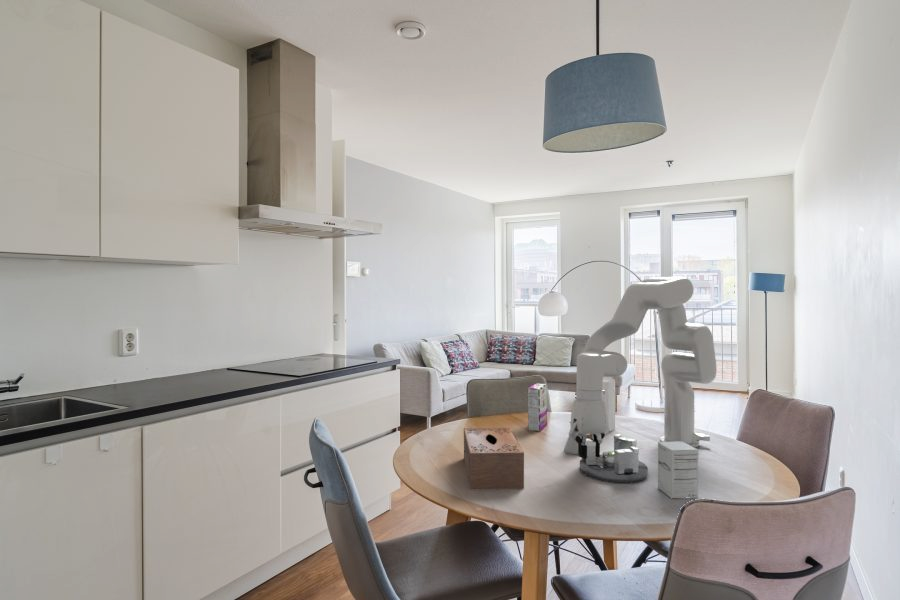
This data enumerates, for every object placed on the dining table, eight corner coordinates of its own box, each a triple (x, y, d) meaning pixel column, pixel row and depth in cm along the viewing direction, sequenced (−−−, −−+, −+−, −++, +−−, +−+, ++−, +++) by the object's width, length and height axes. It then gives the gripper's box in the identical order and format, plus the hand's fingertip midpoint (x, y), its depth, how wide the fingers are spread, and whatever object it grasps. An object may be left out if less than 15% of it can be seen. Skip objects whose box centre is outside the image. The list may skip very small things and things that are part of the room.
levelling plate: (645, 464, 155) (645, 446, 155) (650, 486, 137) (650, 466, 137) (581, 458, 161) (581, 441, 161) (577, 479, 143) (577, 459, 143)
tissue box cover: (463, 459, 161) (463, 427, 161) (509, 458, 162) (509, 427, 162) (470, 490, 136) (470, 453, 135) (524, 489, 136) (523, 452, 136)
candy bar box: (535, 423, 204) (535, 383, 204) (547, 424, 202) (547, 383, 202) (527, 430, 194) (527, 387, 194) (540, 431, 192) (539, 388, 192)
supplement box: (656, 488, 136) (656, 441, 136) (683, 487, 137) (683, 440, 136) (671, 499, 129) (671, 449, 128) (699, 498, 129) (699, 449, 129)
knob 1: (631, 462, 150) (631, 440, 150) (612, 457, 155) (612, 435, 155) (637, 459, 153) (637, 437, 152) (618, 454, 157) (618, 433, 157)
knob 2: (613, 470, 143) (613, 447, 143) (632, 468, 144) (632, 445, 144) (620, 474, 140) (620, 451, 140) (639, 473, 141) (639, 449, 141)
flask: (586, 455, 163) (586, 425, 163) (563, 454, 165) (563, 423, 165) (585, 449, 171) (585, 419, 170) (563, 448, 172) (563, 418, 172)
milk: (608, 432, 191) (608, 374, 191) (593, 429, 195) (593, 372, 195) (615, 429, 196) (615, 372, 195) (600, 426, 200) (600, 370, 199)
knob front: (591, 458, 154) (591, 436, 154) (597, 464, 148) (597, 442, 148) (579, 458, 154) (579, 436, 154) (585, 464, 148) (585, 442, 148)
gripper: (603, 391, 157) (603, 450, 157) (558, 394, 150) (557, 456, 151) (620, 395, 150) (620, 457, 150) (573, 399, 143) (573, 464, 144)
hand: (589, 456), depth 150 cm, fingers closed on knob front, 3 cm apart
